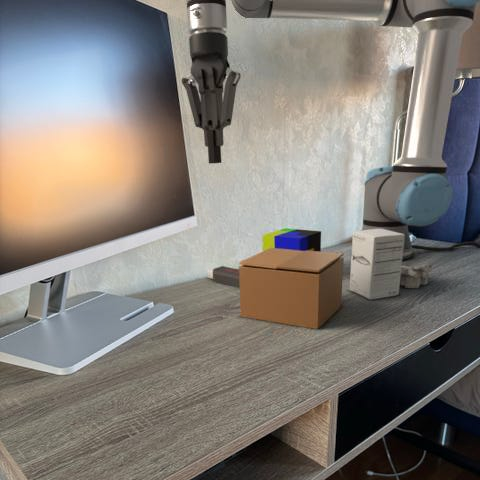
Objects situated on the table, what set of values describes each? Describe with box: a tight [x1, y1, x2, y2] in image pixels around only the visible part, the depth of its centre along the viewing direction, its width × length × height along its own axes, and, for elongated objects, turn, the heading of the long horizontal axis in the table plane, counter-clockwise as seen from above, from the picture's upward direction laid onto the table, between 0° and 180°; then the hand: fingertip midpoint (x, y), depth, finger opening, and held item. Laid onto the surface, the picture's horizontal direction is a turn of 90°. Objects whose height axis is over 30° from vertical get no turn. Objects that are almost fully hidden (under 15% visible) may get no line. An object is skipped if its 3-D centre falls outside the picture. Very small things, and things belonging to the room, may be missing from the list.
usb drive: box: [207, 265, 240, 288], centre depth 104 cm, size 5×12×3 cm, turn 48°
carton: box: [238, 251, 345, 330], centre depth 82 cm, size 15×13×10 cm
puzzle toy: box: [262, 227, 322, 252], centre depth 106 cm, size 10×10×10 cm
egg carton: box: [399, 264, 432, 289], centre depth 98 cm, size 11×8×4 cm
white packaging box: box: [349, 229, 405, 301], centre depth 90 cm, size 7×7×13 cm
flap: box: [238, 248, 304, 269], centre depth 82 cm, size 7×13×1 cm, turn 151°
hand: (215, 163), depth 95 cm, fingers closed
